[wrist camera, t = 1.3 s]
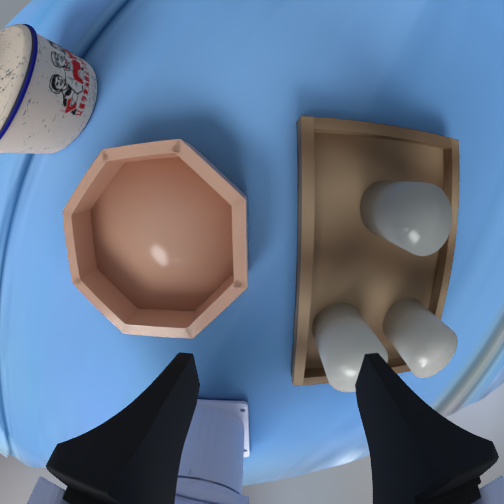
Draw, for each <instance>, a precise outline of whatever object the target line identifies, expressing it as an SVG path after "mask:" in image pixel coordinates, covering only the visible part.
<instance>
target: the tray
mask: <svg viewBox="0 0 504 504" xmlns="http://www.w3.org/2000/svg"><path fill="white" fill-rule="evenodd" d="M297 157H298V226H297V269H296V295H295V316H294V334H293V349H292V363H291V377H292V382H293V386H299V385H313V384H325V383H329V381H328V379H327V376H326V373H325V370H324V367H323V364H322V361H321V358H320V355H319V352H318V349H317V346H316V343H315V340H314V337H313V334H312V324H313V321H314V319H315V317H316V316H317V314H318V313H319V312H320V311H321V310H323V309H324V308H325V307H327V306H329V305H331V304H335V303H347V304H350V305H352V306H354V307H355V308H356V309H357V310H358V311H359V313H360V314H361V315H362V317H363V318H364V320H365V321H366V322H367V324H368V325H369V327H370V328H371V329H372V331H373V332H374V334H375V335H376V336H377V338H378V339H379V341H380V342H381V343H382V345H383V346H384V348H385V349H386V351H387V354H388V363H387V364H388V365H389V366H390V367H391V368H392V369H393V370H394V371H395V373H396V374H397V373H402V372H407V371H411V369H410V368H409V367H408V365H407V364H406V362H405V361H404V360H403V358H402V357H401V356H400V354H399V353H398V352H397V350H396V349H395V348H394V346H393V345H392V344H391V342H390V341H389V340H388V338H387V337H386V336H385V334H384V332H383V320H384V317H385V315H386V313H387V312H388V310H389V309H390V308H391V307H392V306H393V305H394V304H395V303H396V302H398V301H399V300H402V299H405V298H414V299H416V300H418V301H419V302H420V303H421V304H422V305H424V306H425V307H426V308H427V309H428V310H429V311H431V312H432V313H433V314H434V315H435V316H436V317H438V318H439V319H440V320H441V316H442V312H443V308H444V304H445V299H446V295H447V290H448V285H449V280H450V274H451V269H452V262H453V256H454V249H455V241H456V231H457V221H458V206H459V142H458V140H457V139H453V138H449V137H445V136H441V135H437V134H433V133H428V132H423V131H419V130H414V129H408V128H403V127H397V126H391V125H385V124H378V123H371V122H364V121H355V120H346V119H336V118H323V117H307V116H301V117H300V118H299V119H298V121H297ZM382 180H388V181H409V182H425V183H432V184H434V185H436V186H438V187H439V188H441V189H442V190H443V191H444V193H445V194H446V196H447V197H448V199H449V202H450V205H451V209H452V226H451V230H450V233H449V236H448V238H447V240H446V242H445V243H444V244H443V246H442V247H441V248H440V249H439V250H437V251H436V252H435V253H433V254H430V255H427V256H418V255H415V254H412V253H410V252H409V251H407V250H405V249H403V248H401V247H399V246H397V245H395V244H393V243H391V242H389V241H387V240H385V239H383V238H381V237H379V236H377V235H375V234H373V233H372V232H370V231H369V230H368V229H367V228H366V227H365V225H364V223H363V221H362V219H361V215H360V202H361V198H362V196H363V194H364V192H365V190H366V189H367V188H368V187H369V186H370V185H371V184H373V183H375V182H377V181H382Z"/></svg>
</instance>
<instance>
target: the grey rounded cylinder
mask: <svg viewBox="0 0 504 504" xmlns="http://www.w3.org/2000/svg"><path fill="white" fill-rule="evenodd" d="M360 215H361V219H362V221H363V223H364V225H365V227H366V228H367V229H368V230H369V231H370V232H372V233H373V234H375V235H377V236H379V237H381V238H383V239H385V240H387V241H389V242H391V243H393V244H395V245H397V246H399V247H401V248H403V249H405V250H407V251H409V252H410V253H412V254H415V255H418V256H427V255H430V254H433V253H435V252H436V251H437V250H439V249H440V248H441V247H442V246H443V244H444V243H445V242H446V240H447V238H448V236H449V233H450V230H451V226H452V209H451V205H450V202H449V199H448V197H447V196H446V194H445V193H444V191H443V190H442V189H441V188H439V187H438V186H436V185H434V184H432V183H425V182H409V181H388V180H382V181H377V182H375V183H373V184H371V185H370V186H369V187H368V188H367V189H366V190H365V192H364V194H363V196H362V198H361V202H360Z"/></svg>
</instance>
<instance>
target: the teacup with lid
mask: <svg viewBox="0 0 504 504" xmlns="http://www.w3.org/2000/svg"><path fill="white" fill-rule="evenodd" d="M96 97H97V78H96V74H95V72H94V70H93V68H92V67H91V65H90V64H89V63H87V62H86V61H84V60H83V59H81V58H79V57H78V56H76V55H74V54H73V53H71V52H69V51H67V50H66V49H64V48H62V47H60V46H59V45H57V44H55V43H53V42H51V41H50V40H48V39H46V38H44V37H42V36H40V35H39V34H37V33H36V31H35V30H34V28H33V27H31V26H30V25H27V24H16V25H12V26H9V27H7V28H5V29H3V30H1V31H0V153H37V154H51V153H56V152H58V151H60V150H62V149H64V148H66V147H67V146H68V145H70V144H71V143H72V142H73V141H74V140H75V139H76V138H77V137H78V136H79V134H80V133H81V132H82V130H83V129H84V127H85V126H86V124H87V122H88V120H89V118H90V116H91V114H92V111H93V109H94V105H95V102H96Z"/></svg>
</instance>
